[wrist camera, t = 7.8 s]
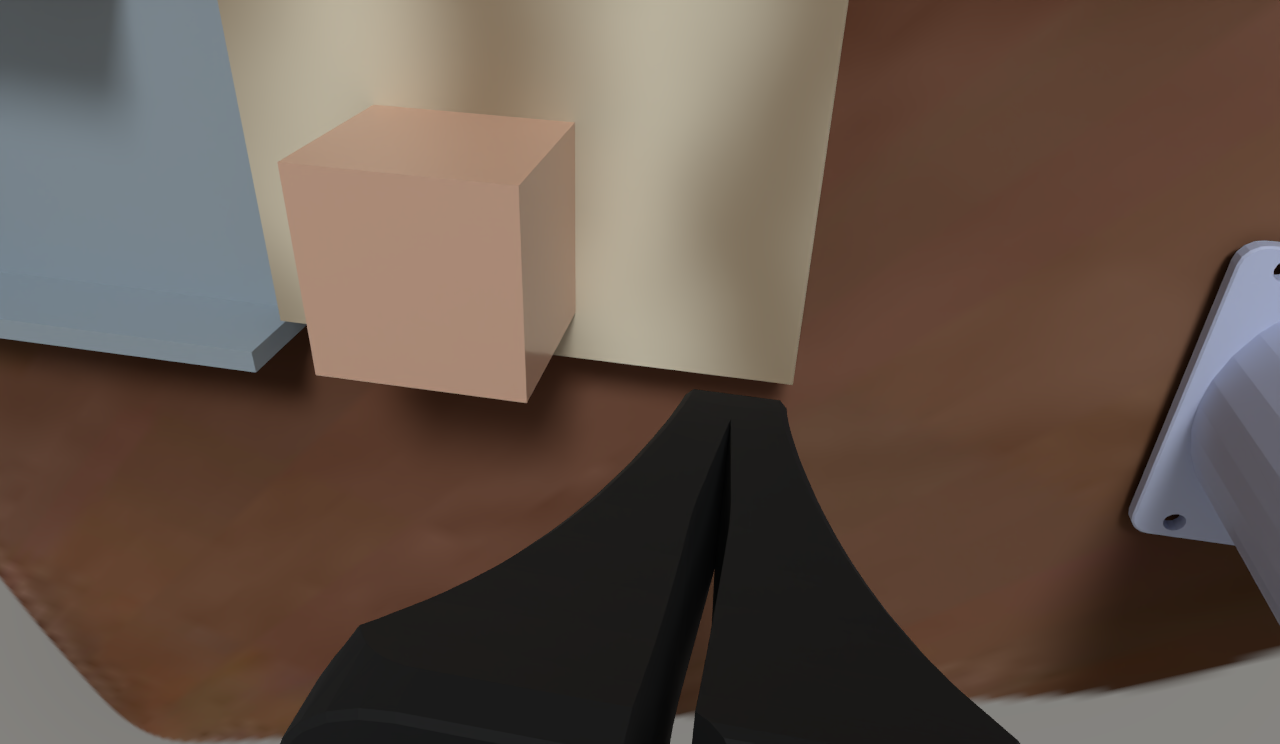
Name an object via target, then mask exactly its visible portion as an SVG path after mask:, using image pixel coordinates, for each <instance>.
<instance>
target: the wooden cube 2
mask: <svg viewBox="0 0 1280 744" xmlns="http://www.w3.org/2000/svg"><path fill="white" fill-rule="evenodd" d="M277 163H278V169H279V174H280V180H281V185H282V191H283V196H284V202H285V207H286V213H287V218H288V224H289V230H290V235H291V241H292V246H293V252H294V257H295V263H296V268H297V274H298V279H299V285H300V290H301V296H302V301H303V307H304V312H305V318H306V324H307V329H308V335H309V340H310V346H311V351H312V357H313V362H314V368H315V373H316V375H320V376H327V377H335V378H342V379H350V380H357V381H365V382H372V383H380V384H387V385H395V386H402V387H410V388H417V389H425V390H432V391H440V392H447V393H455V394H462V395H470V396H477V397H485V398H492V399H500V400H507V401H514V402H522V403H527V402H528V400H529V398H530V396H531V394H532V393H533V391H534V389H535V387H536V385H537V383H538V381H539V380H540V378H541V376H542V374H543V372H544V370H545V368H546V366H547V365H548V363H549V361H550V359H551V357H552V355H553V353H554V352H555V350H556V348H557V346H558V344H559V342H560V340H561V339H562V337H563V335H564V333H565V331H566V329H567V327H568V325H569V324H570V322H571V320H572V318H573V316H574V314H575V312H576V278H575V122H565V121H554V120H543V119H531V118H520V117H509V116H497V115H486V114H475V113H463V112H452V111H440V110H429V109H418V108H406V107H395V106H384V105H372V106H370V107H369V108H367V109H365V110H363V111H362V112H360V113H358V114H357V115H355V116H353V117H352V118H350V119H348V120H347V121H345V122H343V123H342V124H340V125H338V126H337V127H335V128H333V129H332V130H330V131H328V132H327V133H325V134H323V135H322V136H320V137H318V138H317V139H315V140H313V141H312V142H310V143H308V144H307V145H305V146H303V147H302V148H300V149H298V150H297V151H295V152H293V153H292V154H290V155H288V156H287V157H285V158H283V159H282V160H280V161H278V162H277Z"/></svg>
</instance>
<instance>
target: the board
mask: <svg viewBox="0 0 1280 744" xmlns="http://www.w3.org/2000/svg"><path fill="white" fill-rule="evenodd" d="M217 1H218V6H219V11H220V16H221V21H222V26H223V31H224V36H225V41H226V46H227V51H228V57H229V62H230V67H231V72H232V77H233V82H234V87H235V92H236V97H237V102H238V107H239V112H240V117H241V122H242V127H243V132H244V138H245V143H246V148H247V153H248V158H249V163H250V168H251V173H252V178H253V183H254V188H255V193H256V198H257V203H258V208H259V213H260V219H261V224H262V229H263V234H264V239H265V244H266V249H267V254H268V259H269V264H270V269H271V274H272V279H273V284H274V289H275V294H276V300H277V305H278V310H279V315H280V320H281V321H287V322H295V323H303V324H306V318H305V312H304V307H303V301H302V296H301V290H300V285H299V279H298V274H297V268H296V263H295V257H294V252H293V246H292V241H291V235H290V230H289V224H288V218H287V213H286V207H285V202H284V196H283V191H282V185H281V180H280V174H279V169H278V163H277V162H278V161H280V160H282V159H283V158H285V157H287V156H288V155H290V154H292V153H293V152H295V151H297V150H298V149H300V148H302V147H303V146H305V145H307V144H308V143H310V142H312V141H313V140H315V139H317V138H318V137H320V136H322V135H323V134H325V133H327V132H328V131H330V130H332V129H333V128H335V127H337V126H338V125H340V124H342V123H343V122H345V121H347V120H348V119H350V118H352V117H353V116H355V115H357V114H358V113H360V112H362V111H363V110H365V109H367V108H369V107H370V106H372V105H384V106H395V107H406V108H418V109H429V110H440V111H452V112H463V113H475V114H486V115H497V116H509V117H520V118H531V119H543V120H554V121H565V122H575V278H576V312H575V314H574V316H573V318H572V320H571V322H570V324H569V325H568V327H567V329H566V331H565V333H564V335H563V337H562V339H561V340H560V342H559V344H558V346H557V348H556V350H555V352H554V353H553V355H558V356H566V357H574V358H582V359H590V360H598V361H606V362H614V363H622V364H630V365H638V366H646V367H654V368H662V369H670V370H678V371H686V372H694V373H702V374H710V375H718V376H726V377H734V378H742V379H750V380H758V381H766V382H774V383H782V384H790V385H793V379H794V372H795V365H796V358H797V351H798V344H799V337H800V331H801V324H802V317H803V310H804V303H805V296H806V289H807V282H808V276H809V269H810V262H811V255H812V248H813V241H814V234H815V227H816V220H817V214H818V207H819V200H820V193H821V186H822V179H823V172H824V165H825V159H826V152H827V145H828V138H829V131H830V124H831V117H832V110H833V104H834V97H835V90H836V83H837V76H838V69H839V62H840V55H841V48H842V42H843V35H844V28H845V21H846V14H847V7H848V0H217Z"/></svg>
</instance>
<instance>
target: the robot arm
mask: <svg viewBox="0 0 1280 744" xmlns="http://www.w3.org/2000/svg"><path fill="white" fill-rule="evenodd" d="M1279 263H1280V242H1276V241H1254V242H1251V243H1249V244H1246V245H1244V246H1243V247H1242V248H1240V249H1239V250H1238V251H1236V253H1235V254H1234V256H1233V258H1232V259H1231V261H1230V264H1229V266H1228V269H1227V271H1226V273H1225V276H1224V278H1223V281H1222V283H1221V286H1220V288H1219V290H1218V293H1217V295H1216V298H1215V300H1214V303H1213V305H1212V307H1211V310H1210V312H1209V315H1208V317H1207V320H1206V322H1205V324H1204V327H1203V329H1202V332H1201V334H1200V337H1199V339H1198V341H1197V344H1196V346H1195V349H1194V351H1193V354H1192V356H1191V358H1190V361H1189V363H1188V366H1187V368H1186V371H1185V373H1184V376H1183V378H1182V380H1181V383H1180V385H1179V388H1178V390H1177V393H1176V395H1175V397H1174V400H1173V402H1172V405H1171V407H1170V410H1169V412H1168V414H1167V417H1166V419H1165V422H1164V424H1163V427H1162V429H1161V431H1160V434H1159V436H1158V439H1157V441H1156V444H1155V446H1154V448H1153V451H1152V453H1151V456H1150V458H1149V461H1148V463H1147V466H1146V468H1145V470H1144V473H1143V475H1142V478H1141V480H1140V483H1139V485H1138V487H1137V490H1136V492H1135V495H1134V497H1133V500H1132V502H1131V504H1130V507H1129V512H1128V514H1129V517H1130V519H1131V521H1132V524H1133V526H1134V527H1135V528H1136V529H1137V530H1139V531H1141V532H1144V533H1149V534H1156V535H1163V536H1170V537H1177V538H1185V539H1192V540H1199V541H1206V542H1213V543H1220V544H1227V545H1234V546H1236V548H1237V550H1238V552H1239V554H1240V555H1241V557H1242V559H1243V561H1244V563H1245V564H1246V566H1247V568H1248V570H1249V572H1250V573H1251V575H1252V577H1253V579H1254V580H1255V582H1256V584H1257V586H1258V588H1259V589H1260V591H1261V593H1262V595H1263V597H1264V598H1265V600H1266V602H1267V604H1268V606H1269V607H1270V609H1271V611H1272V613H1273V615H1274V616H1275V618H1276V620H1277V622H1278V623H1279V625H1280V274H1277V275H1274V269H1275V268H1276V267H1277V265H1278V264H1279ZM1173 514H1179V517H1178V518H1176V519H1173V520H1164V519H1165V518H1166V517H1168V516H1170V515H1173ZM714 569H715V572H714ZM713 572H714V592H713V613H712V628H711V634H710V639H709V644H708V650H707V655H706V660H705V665H704V670H703V676H702V681H701V686H700V691H699V696H698V701H697V706H696V711H695V720H694V729H693V739H692V744H1020V743H1019V741H1018V740H1017V739H1015V738H1014V737H1013V736H1012V735H1011V734H1009V733H1008V732H1007V731H1006V730H1005V729H1004V728H1003V727H1001V726H1000V725H999V724H998V723H997V722H996V721H994V720H993V719H992V718H991V717H990V716H989V715H988V714H986V713H985V712H984V711H983V710H982V709H981V708H979V707H978V706H977V705H976V704H975V703H974V702H973V701H971V700H970V699H969V698H968V697H967V696H966V695H964V694H963V693H962V692H961V691H960V690H959V689H958V688H957V687H955V686H954V685H953V684H952V683H951V682H950V681H949V680H948V679H947V678H946V677H945V676H944V675H943V674H942V673H941V672H940V671H939V670H938V669H937V668H936V667H935V666H934V665H933V664H932V663H931V662H930V661H929V660H928V659H927V658H926V657H925V656H924V655H923V653H922V652H921V651H920V650H919V649H918V648H917V646H916V645H915V644H914V643H913V642H912V641H911V639H910V638H909V637H908V636H907V635H906V634H905V632H904V631H903V630H902V629H901V628H900V627H899V626H898V624H897V623H896V622H895V621H894V620H893V619H892V617H891V616H890V615H889V614H888V613H887V611H886V610H885V609H884V607H883V606H882V605H881V603H880V602H879V601H878V599H877V598H876V597H875V595H874V594H873V593H872V591H871V590H870V588H869V587H868V586H867V584H866V583H865V581H864V580H863V578H862V577H861V575H860V574H859V572H858V571H857V570H856V568H855V567H854V565H853V564H852V562H851V560H850V559H849V557H848V556H847V554H846V552H845V551H844V549H843V547H842V546H841V544H840V542H839V541H838V539H837V537H836V535H835V534H834V532H833V530H832V528H831V526H830V524H829V522H828V521H827V519H826V517H825V515H824V513H823V511H822V509H821V507H820V505H819V503H818V501H817V499H816V497H815V494H814V492H813V490H812V488H811V485H810V483H809V481H808V478H807V476H806V474H805V471H804V469H803V467H802V464H801V461H800V459H799V456H798V453H797V450H796V447H795V444H794V441H793V438H792V435H791V431H790V427H789V423H788V417H787V409H786V407H785V406H784V405H783V404H782V403H781V401H780V400H772V399H764V398H757V397H749V396H742V395H734V394H726V393H719V392H711V391H703V390H696V389H693V390H692V391H690V392H689V393H688V394H686V395H685V396H684V398H683V399H682V401H681V403H680V404H679V405H678V407H677V408H676V410H675V411H674V412H673V414H672V415H671V416H670V418H669V419H668V420H667V422H666V423H665V424H664V425H663V426H662V428H661V429H660V430H659V431H658V432H657V434H656V435H655V436H654V437H653V438H652V439H651V441H650V442H649V443H648V444H647V445H646V446H645V447H644V448H643V449H642V450H641V451H640V453H639V454H638V455H637V456H636V457H635V458H634V459H633V460H632V461H631V462H630V463H629V464H628V465H627V466H626V467H625V468H624V469H623V470H622V471H621V472H620V473H619V474H618V475H617V476H616V477H615V478H614V479H613V480H612V481H611V482H610V483H609V484H607V485H606V486H605V487H604V488H603V489H602V490H601V491H600V492H599V493H598V494H597V495H596V496H595V497H593V498H592V499H591V500H590V501H589V502H588V503H586V504H585V505H584V506H583V507H582V508H580V509H579V510H578V511H577V512H575V513H574V514H573V515H572V516H570V517H569V518H568V519H566V520H565V521H564V522H562V523H561V524H560V525H558V526H557V527H556V528H555V529H553V530H552V531H550V532H549V533H548V534H546V535H545V536H543V537H542V538H540V539H539V540H537V541H536V542H534V543H533V544H531V545H530V546H528V547H527V548H525V549H524V550H522V551H521V552H519V553H518V554H516V555H514V556H513V557H511V558H509V559H508V560H506V561H504V562H503V563H501V564H499V565H498V566H496V567H494V568H492V569H490V570H488V571H486V572H484V573H482V574H481V575H479V576H477V577H475V578H473V579H471V580H469V581H467V582H465V583H463V584H460V585H458V586H456V587H454V588H452V589H450V590H448V591H446V592H444V593H441V594H439V595H437V596H435V597H432V598H430V599H428V600H425V601H423V602H420V603H417V604H415V605H412V606H410V607H407V608H405V609H402V610H399V611H397V612H394V613H392V614H389V615H387V616H384V617H381V618H379V619H376V620H373V621H370V622H368V623H365V624H362V625H360V626H359V627H358V628H357V629H356V630H355V632H354V633H353V634H352V636H351V637H350V638H349V640H348V641H347V642H346V644H345V645H344V646H343V647H342V649H341V650H340V651H339V652H338V653H337V654H336V656H335V657H334V658H333V660H332V661H331V662H330V664H329V665H328V666H327V668H326V669H325V670H324V672H323V673H322V674H321V676H320V677H319V679H318V680H317V682H316V684H315V685H314V687H313V689H312V690H311V692H310V693H309V695H308V697H307V698H306V700H305V702H304V703H303V705H302V707H301V708H300V710H299V711H298V713H297V715H296V716H295V718H294V720H293V721H292V723H291V725H290V726H289V728H288V729H287V731H286V733H285V734H284V736H283V738H282V740H281V743H280V744H670V738H671V733H672V728H673V723H674V719H675V714H676V710H677V705H678V701H679V697H680V693H681V689H682V686H683V682H684V679H685V675H686V671H687V668H688V664H689V660H690V657H691V653H692V649H693V646H694V642H695V638H696V635H697V631H698V628H699V624H700V620H701V617H702V613H703V609H704V606H705V602H706V598H707V595H708V591H709V587H710V583H711V580H712V576H713Z"/></svg>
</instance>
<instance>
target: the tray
mask: <svg viewBox="0 0 1280 744" xmlns="http://www.w3.org/2000/svg"><path fill="white" fill-rule="evenodd" d="M306 325H307V324H303V323H295V322H287V321H281V320H280V315H279V310H278V305H277V300H276V294H275V289H274V284H273V279H272V274H271V269H270V264H269V259H268V254H267V249H266V244H265V239H264V234H263V229H262V224H261V219H260V213H259V208H258V203H257V198H256V193H255V188H254V183H253V178H252V173H251V168H250V163H249V158H248V153H247V148H246V143H245V138H244V132H243V127H242V122H241V117H240V112H239V107H238V102H237V97H236V92H235V87H234V82H233V77H232V72H231V67H230V62H229V57H228V51H227V46H226V41H225V36H224V31H223V26H222V21H221V16H220V11H219V6H218V1H217V0H0V338H3V339H10V340H18V341H25V342H33V343H40V344H47V345H55V346H62V347H70V348H77V349H85V350H92V351H99V352H107V353H114V354H122V355H129V356H137V357H144V358H152V359H159V360H166V361H174V362H181V363H189V364H196V365H204V366H211V367H219V368H226V369H233V370H241V371H248V372H257V371H258V370H259V369H260V368H261V367H262V366H264V365H265V364H266V363H267V362H268V361H269V360H270V359H271V358H272V357H273V356H274V355H275V354H276V353H277V352H278V351H279V350H281V349H282V348H283V347H284V346H285V345H286V344H287V343H288V342H289V341H290V340H291V339H292V338H293V337H294V336H295V335H297V334H298V333H299V332H300V331H301V330H302V329H303V328H304V327H305V326H306Z"/></svg>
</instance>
